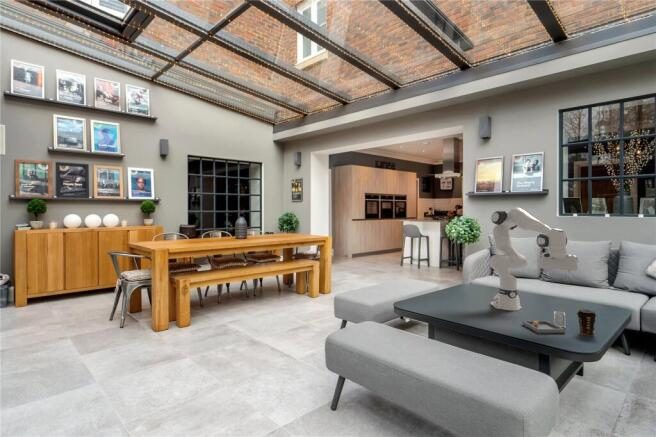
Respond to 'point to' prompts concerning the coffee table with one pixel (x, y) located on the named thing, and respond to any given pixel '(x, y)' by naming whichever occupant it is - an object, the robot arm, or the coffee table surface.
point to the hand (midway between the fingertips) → (557, 276)
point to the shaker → (559, 319)
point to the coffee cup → (586, 322)
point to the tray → (544, 327)
